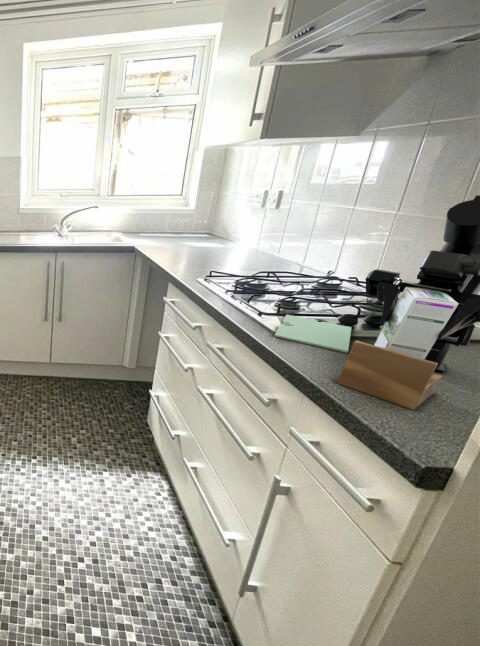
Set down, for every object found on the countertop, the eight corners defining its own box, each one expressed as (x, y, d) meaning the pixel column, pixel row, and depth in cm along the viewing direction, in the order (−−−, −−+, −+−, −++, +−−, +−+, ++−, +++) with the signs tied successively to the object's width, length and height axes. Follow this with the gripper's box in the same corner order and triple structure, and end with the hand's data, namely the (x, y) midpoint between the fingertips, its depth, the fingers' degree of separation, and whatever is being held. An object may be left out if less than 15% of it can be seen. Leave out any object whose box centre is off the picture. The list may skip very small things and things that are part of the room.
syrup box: (415, 376, 75) (463, 303, 69) (374, 367, 78) (415, 295, 71) (405, 361, 80) (449, 292, 73) (366, 353, 82) (404, 285, 75)
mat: (285, 316, 117) (286, 314, 117) (350, 328, 108) (351, 327, 108) (274, 336, 103) (274, 334, 103) (347, 353, 95) (348, 351, 94)
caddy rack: (358, 370, 87) (375, 330, 83) (432, 394, 78) (454, 351, 74) (337, 383, 82) (354, 341, 78) (413, 410, 73) (436, 364, 69)
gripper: (389, 226, 78) (343, 292, 77) (550, 242, 63) (496, 323, 62) (388, 263, 85) (345, 323, 84) (533, 285, 70) (484, 358, 69)
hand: (409, 330), depth 74 cm, fingers closed on syrup box, 7 cm apart
